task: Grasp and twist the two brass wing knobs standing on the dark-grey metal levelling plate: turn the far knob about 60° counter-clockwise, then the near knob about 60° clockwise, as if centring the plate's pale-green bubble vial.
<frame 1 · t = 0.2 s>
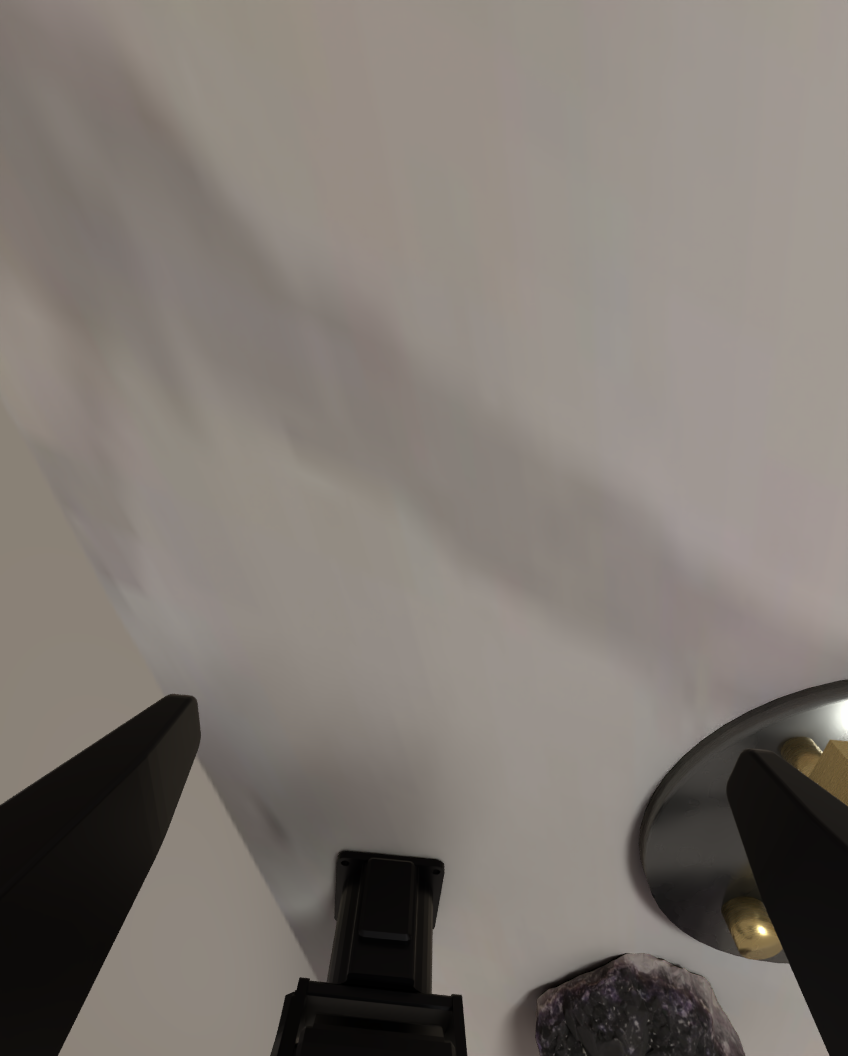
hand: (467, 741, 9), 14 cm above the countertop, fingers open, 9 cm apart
levelling plate: (837, 828, 30), on the countertop
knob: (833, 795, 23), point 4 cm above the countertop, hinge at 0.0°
crystal cluster: (623, 997, 38), on the countertop
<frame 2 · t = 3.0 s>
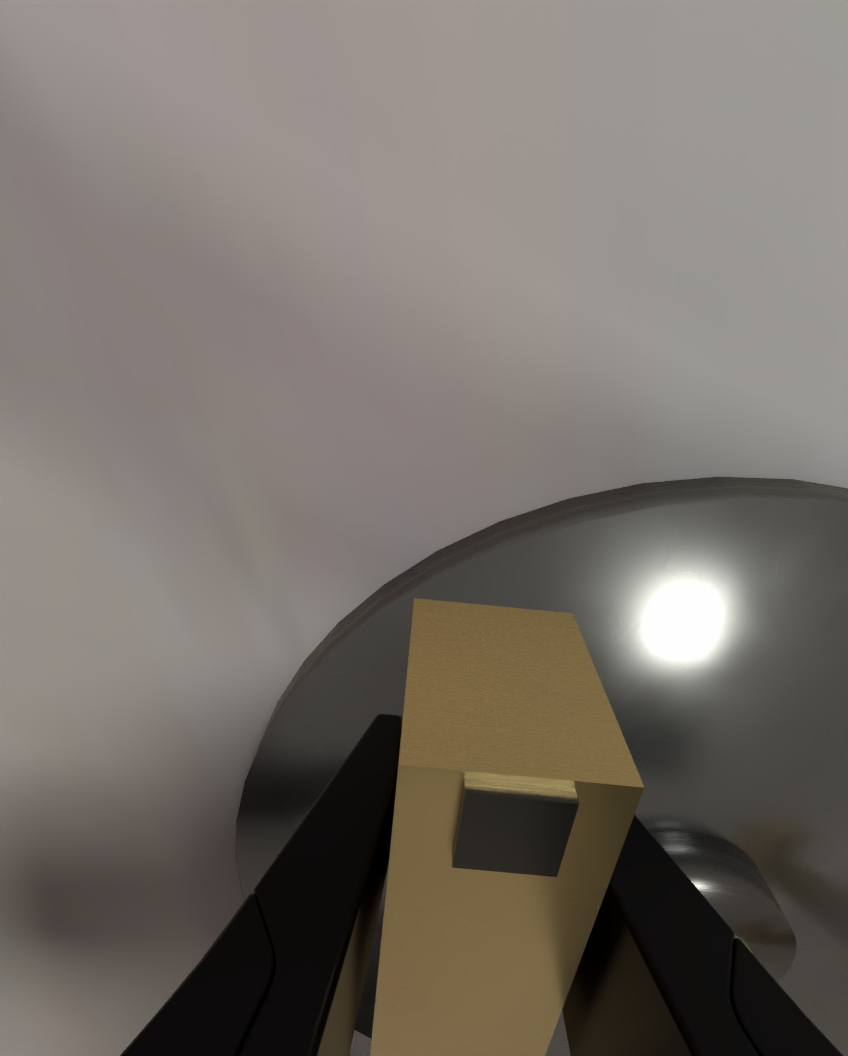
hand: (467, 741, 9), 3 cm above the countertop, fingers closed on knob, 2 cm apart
levelling plate: (644, 851, 15), on the countertop
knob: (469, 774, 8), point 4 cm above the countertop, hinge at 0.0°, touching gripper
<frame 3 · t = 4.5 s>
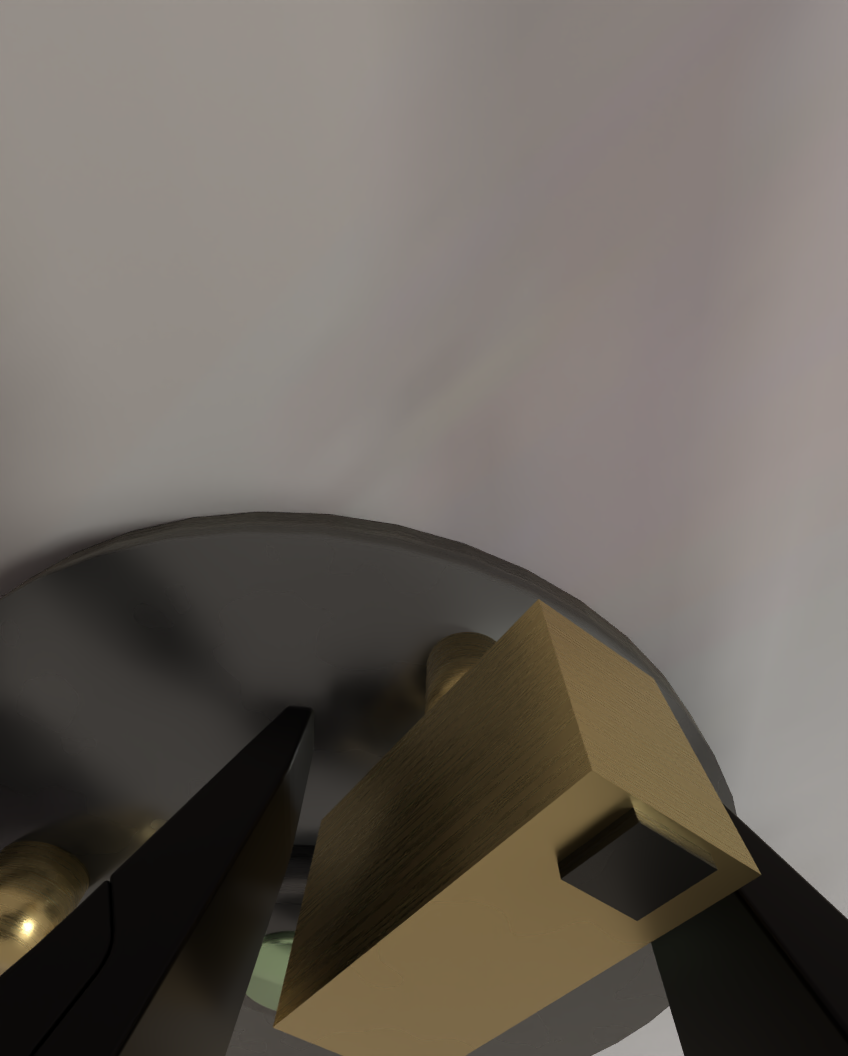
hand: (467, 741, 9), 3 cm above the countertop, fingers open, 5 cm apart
levelling plate: (323, 862, 15), on the countertop
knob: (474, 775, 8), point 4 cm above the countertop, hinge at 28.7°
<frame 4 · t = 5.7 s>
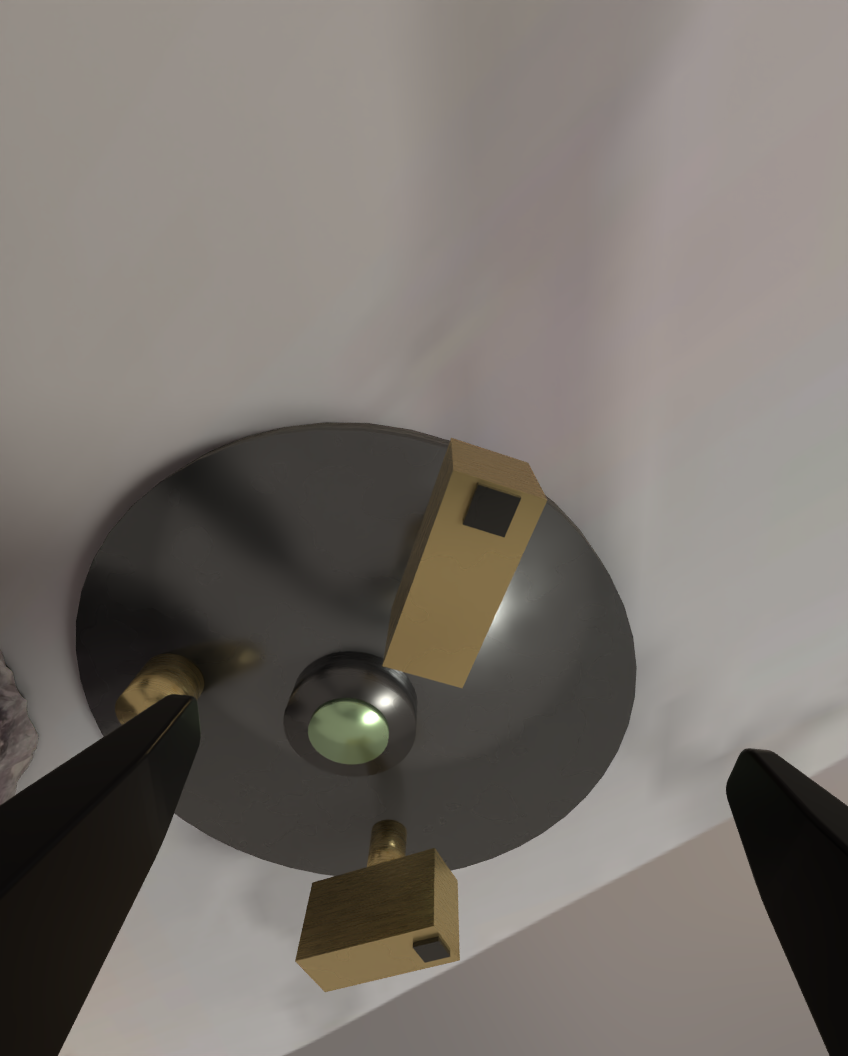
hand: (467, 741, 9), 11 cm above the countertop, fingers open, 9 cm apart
levelling plate: (359, 682, 22), on the countertop
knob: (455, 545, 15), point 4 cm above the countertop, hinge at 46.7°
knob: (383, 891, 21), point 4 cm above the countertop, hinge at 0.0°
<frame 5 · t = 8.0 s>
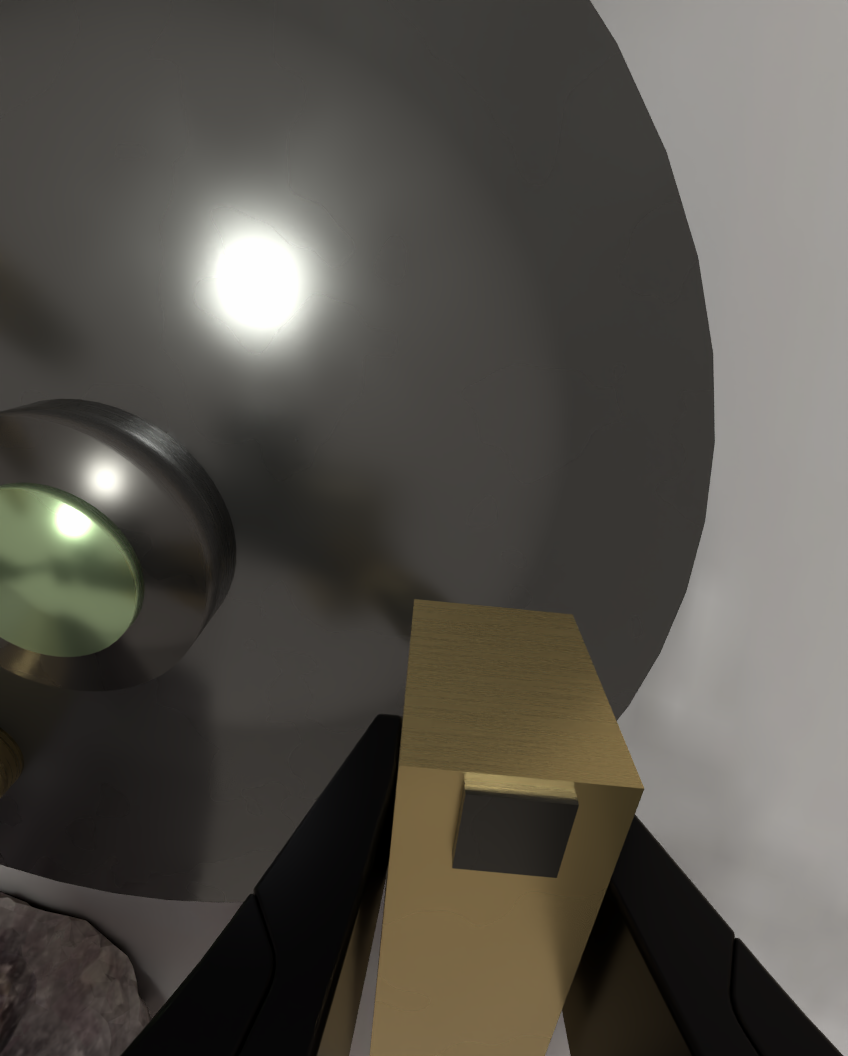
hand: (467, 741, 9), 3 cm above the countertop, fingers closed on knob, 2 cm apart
levelling plate: (137, 510, 11), on the countertop
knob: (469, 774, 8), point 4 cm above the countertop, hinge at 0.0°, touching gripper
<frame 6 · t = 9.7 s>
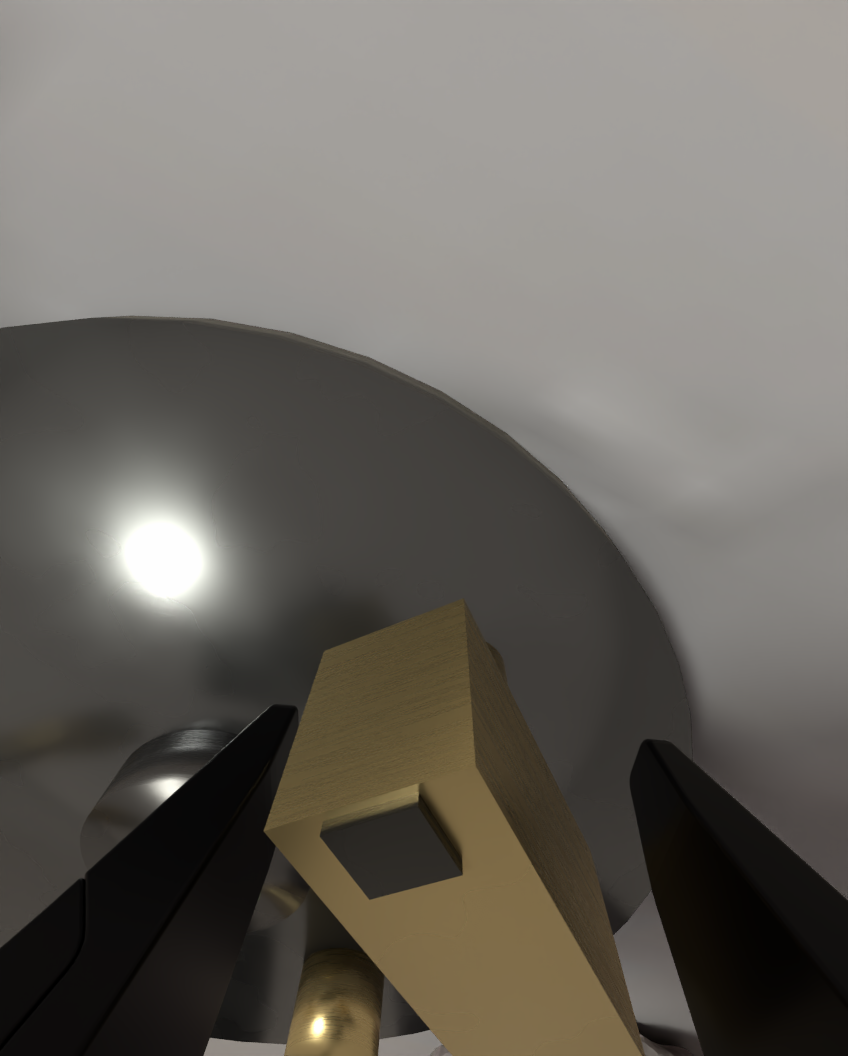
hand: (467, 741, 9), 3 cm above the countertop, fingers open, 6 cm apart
levelling plate: (239, 767, 14), on the countertop
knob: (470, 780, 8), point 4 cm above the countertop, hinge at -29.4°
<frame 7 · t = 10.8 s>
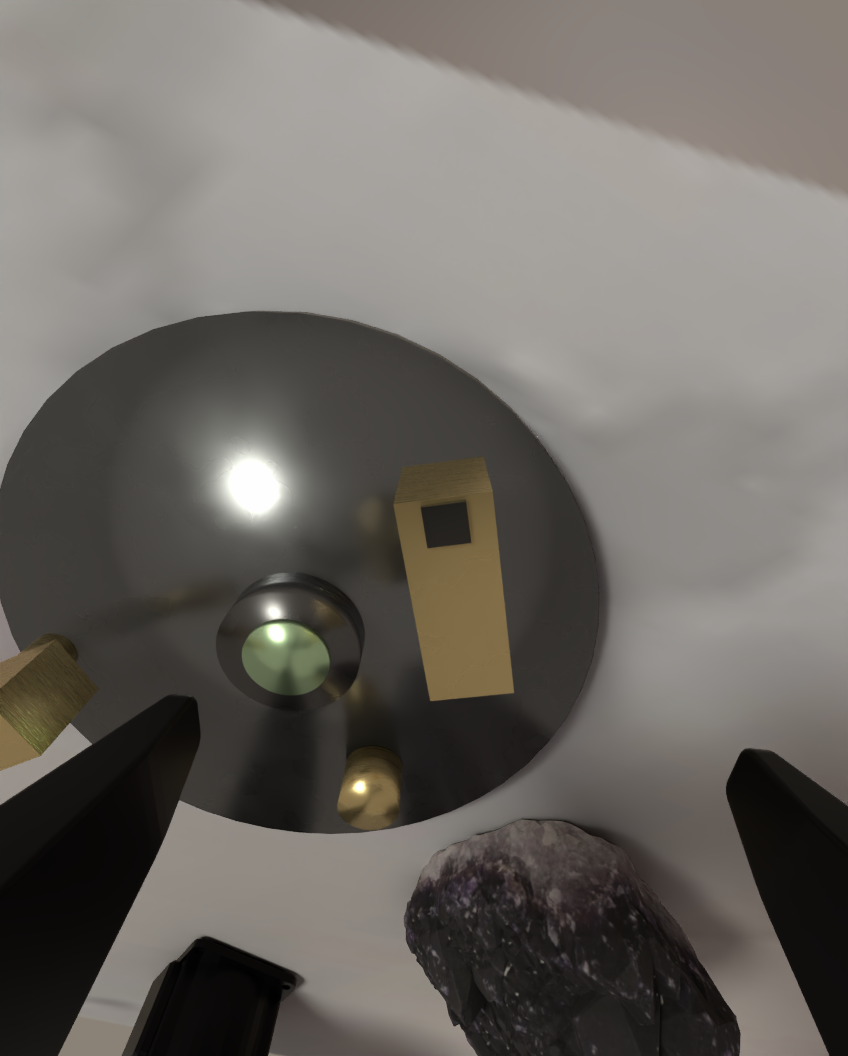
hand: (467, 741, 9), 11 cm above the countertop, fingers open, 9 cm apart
levelling plate: (305, 614, 21), on the countertop
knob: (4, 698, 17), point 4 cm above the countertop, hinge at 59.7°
crystal cluster: (535, 892, 27), on the countertop
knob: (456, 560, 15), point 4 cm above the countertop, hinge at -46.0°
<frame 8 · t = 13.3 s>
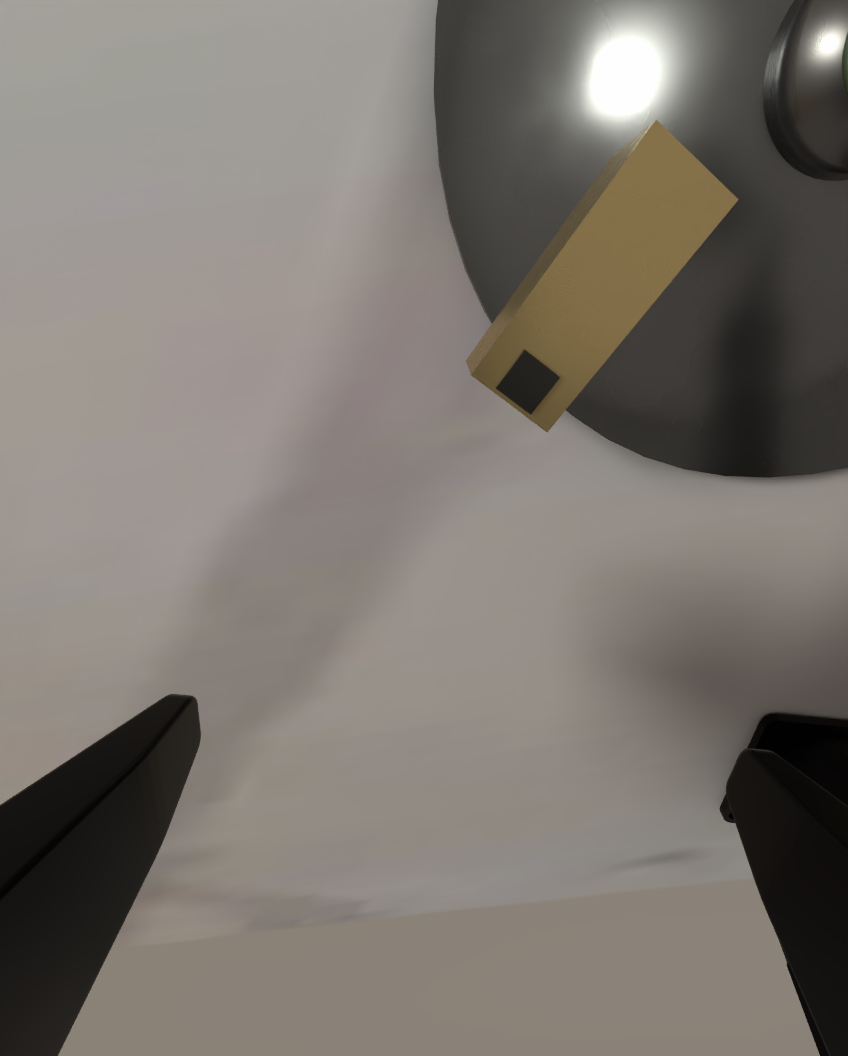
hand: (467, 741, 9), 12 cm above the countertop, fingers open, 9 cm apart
levelling plate: (834, 82, 14), on the countertop
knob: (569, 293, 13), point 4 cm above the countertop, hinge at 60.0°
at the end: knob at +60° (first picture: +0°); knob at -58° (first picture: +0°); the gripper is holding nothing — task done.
